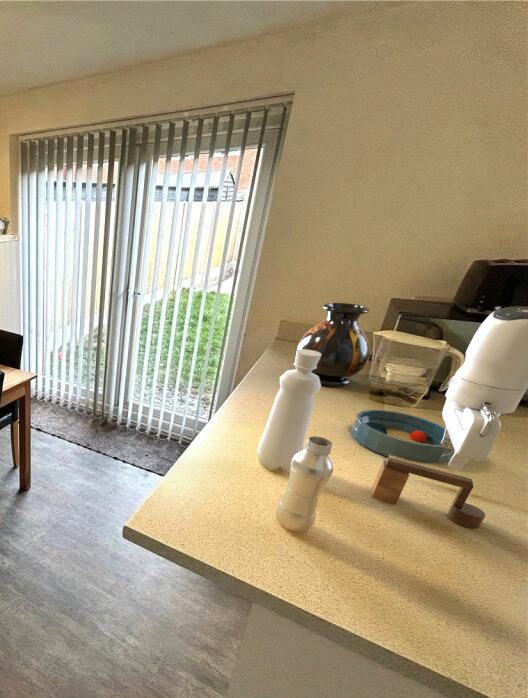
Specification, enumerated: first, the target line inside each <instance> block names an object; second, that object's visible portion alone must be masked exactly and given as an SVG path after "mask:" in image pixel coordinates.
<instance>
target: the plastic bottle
mask: <svg viewBox="0 0 528 698" xmlns="http://www.w3.org/2000/svg"><path fill="white" fill-rule="evenodd" d="M332 447H333V442H332V440H329V439H327V438H325V437H322V436H315V435H314V436H309V437H308V439H307V441H306V442H305V445H304V448H305V449H304V448H303V450H302V451H301V452H299V453H297V454H296V455H295V456H294V457H293V458H292V461H291V468H290V473H289V478H288V480H287V485H286V489H285V490H284V493H283V495H282V497H281V499H280V501H279V502H278V503H277V505H276V507H275V518H276V520H277V522H278V524H279V525H280V526H282V527H283V528H285V529H287V530H289V531H291V532H295V533H305V532H308V531H310V530H311V529H312V528H313V527H314V525H315V523H316V517H317V508H318V504H319V499H320V497H321V494H322V493H323V490H324V488H325V486H326V485H327V483H328V482H329V480H330V478H331V477H332V474H333V472H334V466H333V463H332V460H331V458H330V457H329V455H330V454H331V452H332Z"/></svg>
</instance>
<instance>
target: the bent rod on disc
mask: <svg viewBox="0 0 528 698" xmlns="http://www.w3.org/2000/svg"><path fill="white" fill-rule="evenodd" d="M385 461H386V463H385V464H386V467H389V468H392V469H396V470H400V471H403V472H407V473H409V474H410V475H414V476H417V477H418V476H419V477H422V478H426V479H430V480H432V481H437V482H440V483H444V484H446V485H447V484H448V485H451V486H456V487H458V488H459V490H458V492H457V494H456V495H455V497H454V499H453V501H452V503H451V505H450V507H449V509H448V511H447V513H446V517H447V519H449V521H451V522H452V523H454V524H455V525H458V526H460V527H463V528H467V529H471V530H477V529H479V528H480V526H481V525H482V523H483V522H484V520H485V518H486V517H487V516H486V515H487V514H486V513H485V511H484V510H482V509H481V508H479V507H477V506H475V505H473V504H471V503H467V500H468V497H469V496H470V494H471V492H472V491H473V489H474V482H473V479H472V478H469V477H465V476H462V475H458V474H454V473H451V472H446V471H443V470H440V469H435V468H433V467H432V468H431V467H427V466H424V465H420V464H416V463H413V462H409V461H405V460H400V459H397V458H393V457H390V456H389V457H387V458H386V460H385Z"/></svg>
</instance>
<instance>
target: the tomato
mask: <svg viewBox="0 0 528 698" xmlns="http://www.w3.org/2000/svg"><path fill="white" fill-rule="evenodd" d="M409 438H410V440H411V441H413V442H415V443H424V442H427V441H426V439H427V435H426V434H425V433H424V432H422V431H414V432H412V433H411V434H410V435H409Z"/></svg>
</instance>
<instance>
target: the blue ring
mask: <svg viewBox="0 0 528 698" xmlns="http://www.w3.org/2000/svg"><path fill="white" fill-rule="evenodd" d="M387 429H392V430H395V431H399V432H403V433H407V434H411V433H412V432H414V431H422V432H424V433H425V434H426V435H427V439H426V441H425V442H427V443H430V444H426V443H422V442H415V441H409V440H405V439H401V438H398V437H395V436H392V435H388V430H387ZM444 432H445V426H442V425H440V424H439V423H436V422H434V421H431V420H428V419H426V418H423V417H420V416H415V415H412V414H409V413H404V412H400V411H395V410H387V409H364V410H361V411H359V412H358V413H356V416H355V418H354V420H353V424H352V426H351V429H350V436H352V438H353V439H354V440H355V441H356V442H358V443H359V444H360V445H362V446H364V447H365V448H367V449H369V450H371V451H372V452H375V453H377V454H380V455H381V456H384V457H387V458H388V457H390V456H393V457H397V458H401V459H405V460H407V461H415V462H421V463H441V462H446V461H447V462H448V461H449V459H450V457H452V456H453V454H454V451H455V450H454V448H453V449H448V448H444V447H442V445H441V441H442V439H443V437H444Z"/></svg>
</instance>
